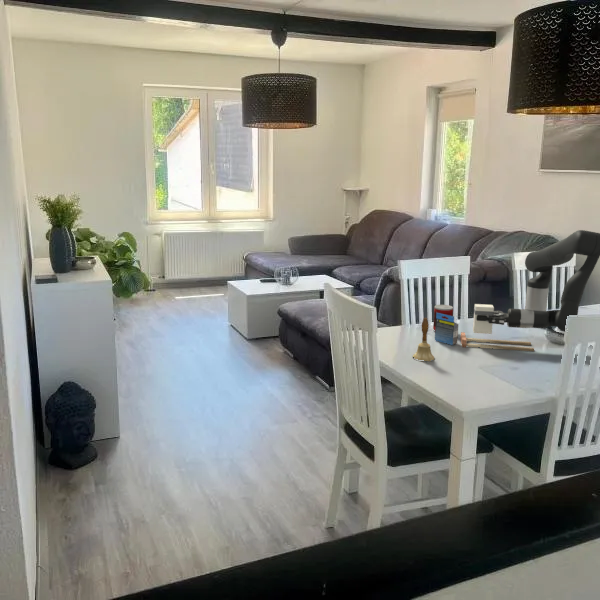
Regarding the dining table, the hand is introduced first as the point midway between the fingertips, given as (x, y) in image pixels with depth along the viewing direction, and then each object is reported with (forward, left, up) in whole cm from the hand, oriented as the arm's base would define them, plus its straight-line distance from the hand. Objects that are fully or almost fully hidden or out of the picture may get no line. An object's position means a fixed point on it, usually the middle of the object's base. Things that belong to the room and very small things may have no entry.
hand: (476, 316), depth 243 cm
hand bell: (+22, -20, -12) cm, 32 cm away
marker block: (0, +3, -6) cm, 7 cm away
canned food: (-16, -12, -12) cm, 24 cm away
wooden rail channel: (0, +10, -12) cm, 15 cm away
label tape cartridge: (0, -11, -12) cm, 17 cm away
